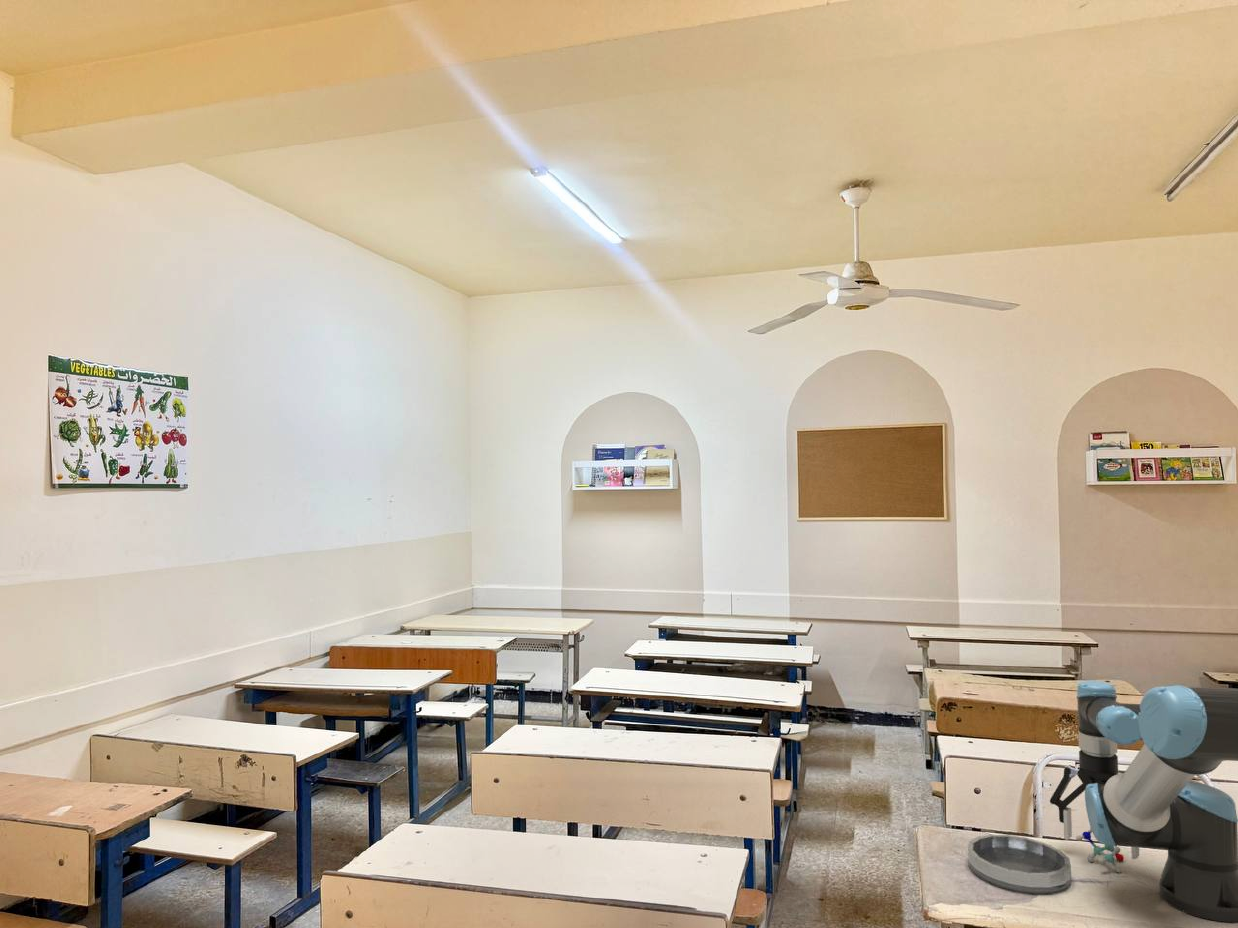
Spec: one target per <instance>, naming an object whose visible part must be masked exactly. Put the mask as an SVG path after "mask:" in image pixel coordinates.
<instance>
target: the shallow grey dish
mask: <svg viewBox="0 0 1238 928" xmlns="http://www.w3.org/2000/svg"><path fill="white" fill-rule="evenodd" d="M967 854H968V855H967V856H968V857H967V859H968V861H967V862H968V868H969V870H970V871H971V872H972V874H974V875H975V876H976V877H977V878H979V879H980V880H981V881H983V882H985V883H986V884H989V885H992V886H994V887H996V888H999V889H1003V890H1006V891H1008V892H1009V891H1010V892H1014V893H1018V894H1019V893H1020V894H1024V895H1025V894H1026V895H1035V896H1036V895H1037V896H1042V895H1043V896H1046V895H1055V894H1060V893H1063V892H1065V891H1066V890H1067V889H1069V888H1070V887H1071V884H1072V883H1071V882H1072V881H1071V880H1072V865H1071V861H1070V857H1068V855H1066V854H1065V853H1064V852H1063V851H1062V850H1061V849H1058V848H1056V847H1054V846H1052V845H1050V844H1048V843H1045V842H1042V841H1039V840H1035V839H1033V838H1029V837H1024V836H1018V835H1011V834H987V835H986V834H985V835H982V836H976V837H974V838H973V839H971V840H970V841H969V842H968V845H967Z"/></svg>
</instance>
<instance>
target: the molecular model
mask: <svg viewBox="0 0 1238 928" xmlns="http://www.w3.org/2000/svg"><path fill="white" fill-rule="evenodd" d="M1089 828H1090V829H1089V830H1088V831H1084V832H1082V835H1079V834H1077V835H1076V837H1075V838H1076V840H1077V841H1079V842H1082V840H1083V839H1084V840H1086V841H1088V842H1089V843H1090V844H1091V846H1092V847H1093V853H1092V855H1089V856H1087V861H1088V860H1089V862H1090V861H1091V863H1093V862H1094V860H1095V858H1096V856H1103V857H1104V858H1101V857H1099V858H1098V859H1097V862H1098V864H1100V865H1104V864H1105V863H1106V862H1107V863H1109V864H1112V866H1113V867H1114V870H1115V872H1116V873H1117V872H1118V874H1120V873H1121V874H1122V872H1123V870H1122V868H1121V867H1120V866H1118V865H1117V863H1116V862H1115V860H1117V862H1120V861H1122V862H1123V861H1124V860H1125V856H1124V855H1123V854H1122V853H1120V852H1121V848H1120V846H1117V847H1115V846H1112V845H1106V844H1104V847H1103V846H1102V847H1101V846H1099V845H1096V844H1095V842H1094V841H1093V840H1092V835H1091V834H1093V832H1092V830H1091V827H1089ZM1104 851H1108V852H1111V853H1105V852H1104Z"/></svg>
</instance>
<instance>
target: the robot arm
mask: <svg viewBox="0 0 1238 928" xmlns="http://www.w3.org/2000/svg"><path fill="white" fill-rule="evenodd" d="M1076 691H1077V694H1076V700H1077V722H1078V725H1077V726H1078V748H1079V749H1080V750H1079V751H1078V761H1079V762H1078V763H1079V769H1077V768H1074V767H1073V765H1070V764H1069V765H1067V766H1066V767H1064V768H1063V777H1062V778H1061V780H1060V782H1059V783H1058V785H1057V787H1056V789H1054V792H1053V794H1051V795H1052V796H1051V797H1050V799H1049V802H1050V804H1051V805H1055V806H1056V807H1058V813H1059V814H1058V817H1059V818H1058V819H1059V822H1060V823H1062V824H1063V839H1064V840H1067V841H1069V839H1071V838H1072V837H1073V830H1072V828H1073V827H1072V826H1073V825H1072V823H1073V822H1072V821H1073V820H1072V808H1071V807H1069V806H1068V805H1070V804H1071V803H1072V802H1073V801H1075V800H1076V798H1078V797H1079V796H1080V795H1081V794H1082V793H1084V801H1085V802H1084V803H1085V810H1086V815H1087V818H1088V823H1089V826H1090V827H1091V828H1090V827H1089V828H1090V829H1091V830H1092V835H1093V837H1094V838H1095V840H1096V841H1097V842H1098V843H1099V844H1102V845H1105V844H1106V845H1112V846H1114V847H1130V848H1131V850H1130V851H1131V859H1133V860H1137V859H1138V858H1139V857H1140V848H1143V849H1145V848H1146V849H1147V848H1148V849H1157V850H1158V849H1160V850H1167V859H1166V861H1165V863H1164V867H1163V869H1162V873H1161V875H1160V878H1159V881H1158V890H1159V892H1158V893H1159V897H1161V899H1162V900H1163V901H1164V902H1165V903H1167V904H1168V905H1170V906H1171V907H1174V908H1175V909H1176V910H1178V911H1182V912H1184V913H1186V914H1188V915H1191V916H1195V917H1198V918H1202V919H1205V920H1212V921H1215V922H1216V921H1217V922H1224V923H1225V922H1227V923H1237V922H1238V815H1237V808H1236V807H1237V806H1236V802H1235V800H1234V799H1233V798H1232V796H1230V794H1228V793H1226V792H1225V791H1223V790H1221V789H1220V788H1216V787H1214V786H1211V785H1209V784H1206V783H1203V782H1199V781H1193V778H1195V776H1202V775H1206V774H1209V773H1212V772H1214V771H1215V770H1216V769H1217V768H1218V767H1219V766H1220V765H1221V764H1222V762H1225V761H1227V762H1228V761H1232V762H1233V761H1235V762H1238V688H1233V687H1232V688H1231V687H1229V688H1228V687H1201V686H1200V687H1199V686H1198V687H1196V686H1193V687H1192V686H1184V685H1180V684H1179V685H1178V684H1177V685H1169V686H1167V685H1166V686H1155V687H1153V688H1151V689H1149V690H1148V691H1147V692H1146V693H1145V694H1144V695H1143V697H1142V698H1141V701H1140V703H1126V702H1125V703H1123V702H1122V703H1121V702H1118V701H1117V698H1118V696H1117V692H1116V687H1115V686H1114V685H1113V684H1112V683H1110V682H1109V683H1108V682H1105V681H1099V680H1084V681H1080V682H1079V683H1078V684H1077V690H1076ZM1138 742H1143V743H1144V744H1143V746H1142V747H1141V748H1140V750H1139V751H1138V752H1137V754H1136V756H1135V757H1134V759H1132V761H1131V763H1130V764H1129V766H1128V767H1127V768H1126V770H1125V771H1124V772H1122V773H1121V772H1119V762H1118V761H1119V756H1118V755H1117V753H1118V745H1121V746H1132V745H1134V744H1137V743H1138ZM1076 776H1077V777H1078V779H1079V780H1080V781H1081V784H1080V785H1079V786H1078V787H1077V788H1076V789H1074V790H1073V791H1072V792H1070V793H1069V795H1067V796H1066V797H1065V798H1064V799H1063V800H1062V799H1061V798H1062V797H1063V794H1064V792H1065V791H1066V789H1067V788H1068V785H1069V783H1070V782H1071V780H1072V779H1073V778H1075V777H1076Z"/></svg>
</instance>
